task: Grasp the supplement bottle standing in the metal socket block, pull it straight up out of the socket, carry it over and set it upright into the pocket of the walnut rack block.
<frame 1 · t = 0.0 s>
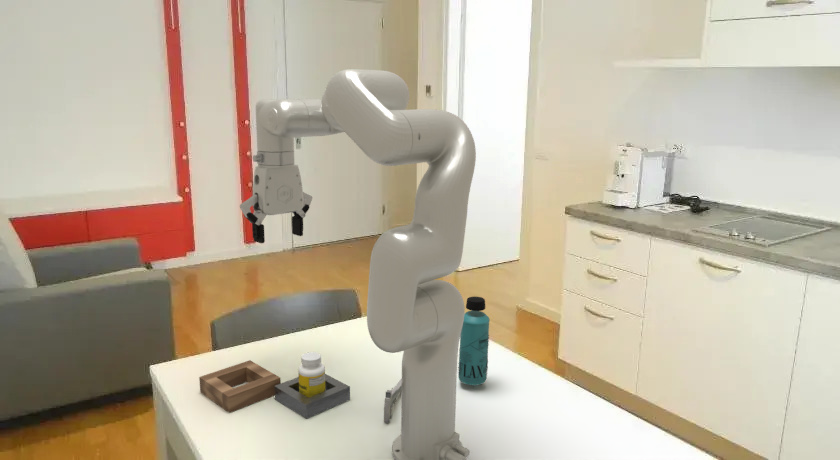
hand: (278, 238, 135), 31 cm above the table, fingers open, 9 cm apart
supplement bottle: (312, 400, 129), resting in socket block
rack block: (240, 392, 132), on the table
caliper: (397, 400, 130), on the table
socket block: (312, 399, 129), on the table
beverage bottle: (472, 385, 137), on the table
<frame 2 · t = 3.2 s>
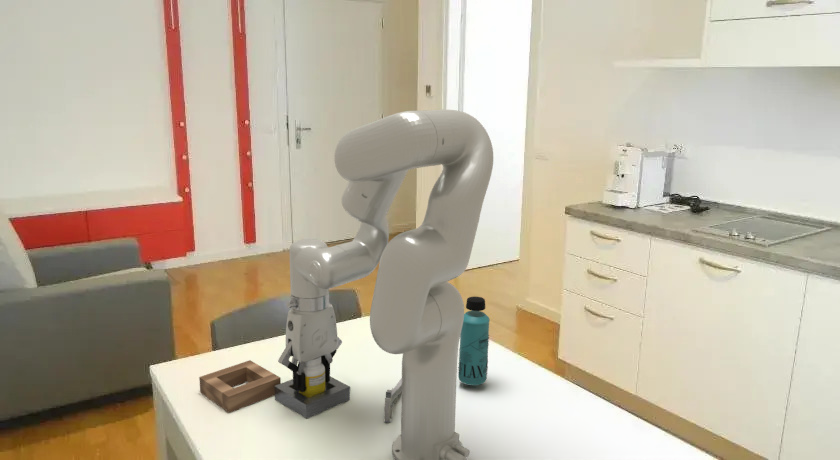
hand: (312, 383, 128), 4 cm above the table, fingers closed on supplement bottle, 5 cm apart
supplement bottle: (312, 400, 129), resting in socket block, touching gripper
everything else where it was.
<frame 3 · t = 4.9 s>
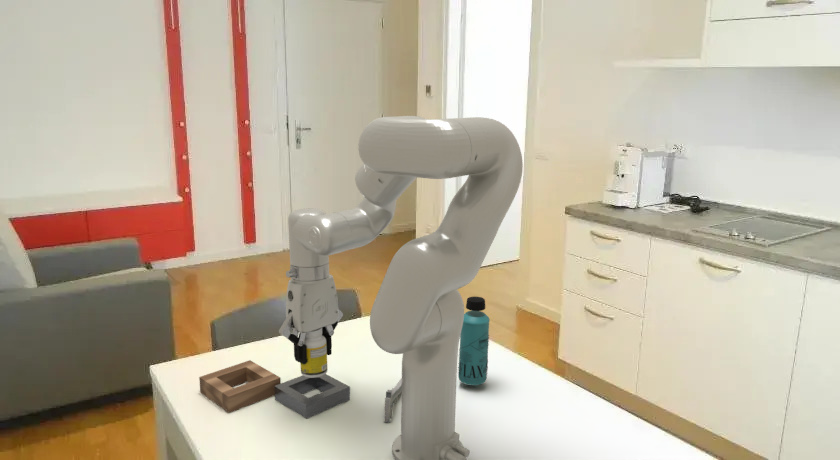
hand: (313, 356, 127), 10 cm above the table, fingers closed on supplement bottle, 5 cm apart
supplement bottle: (314, 373, 127), point 6 cm above the table, touching gripper
everything else where it was.
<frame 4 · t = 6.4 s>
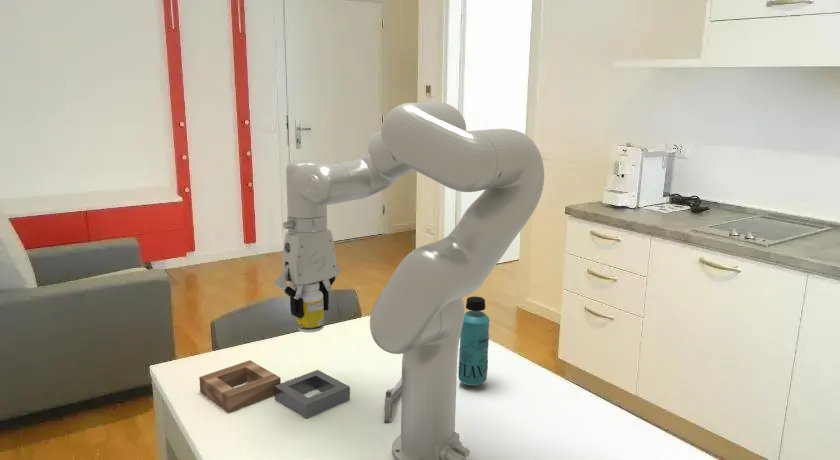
hand: (310, 311, 125), 19 cm above the table, fingers closed on supplement bottle, 5 cm apart
supplement bottle: (310, 329, 126), point 16 cm above the table, touching gripper
everything else where it was.
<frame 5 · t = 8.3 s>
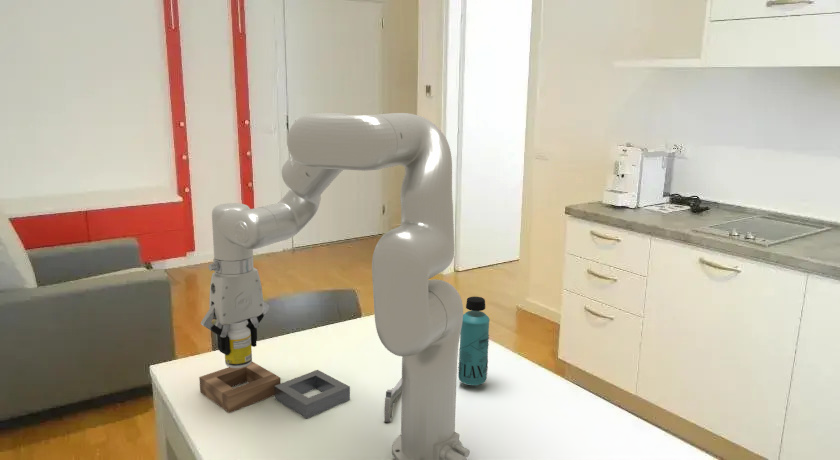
hand: (238, 348, 129), 10 cm above the table, fingers closed on supplement bottle, 5 cm apart
supplement bottle: (238, 364, 130), point 6 cm above the table, touching gripper
everything else where it was.
when the fingers open (5 cm above the table, at t = 9.8 s): supplement bottle drops 1 cm, resting in rack block.
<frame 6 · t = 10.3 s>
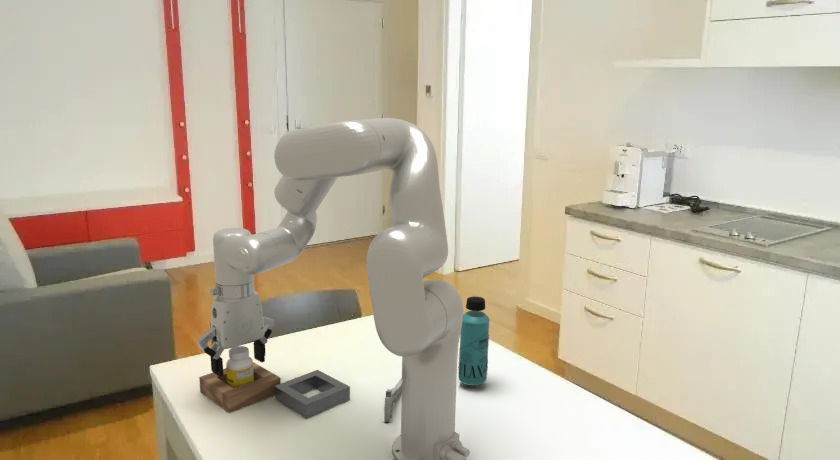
hand: (239, 367, 130), 6 cm above the table, fingers open, 9 cm apart
supplement bottle: (241, 393, 132), resting in rack block
everything else where it was.
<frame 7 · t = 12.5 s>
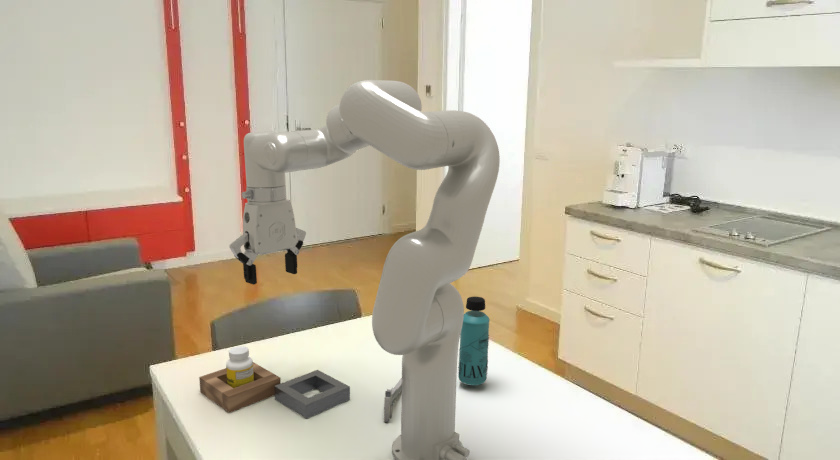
hand: (271, 277, 127), 25 cm above the table, fingers open, 9 cm apart
nothing on the table moved.
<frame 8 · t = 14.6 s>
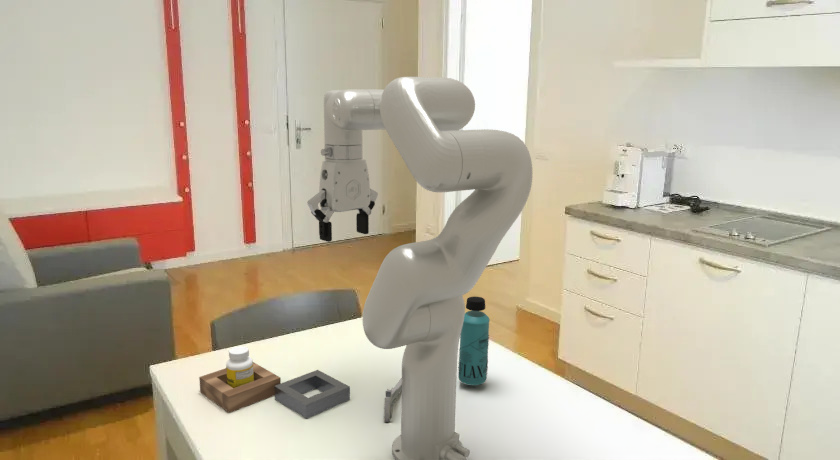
hand: (344, 236, 128), 33 cm above the table, fingers open, 9 cm apart
nothing on the table moved.
at the end: supplement bottle 0.2 cm off-centre on the rack block, point 0.0 cm above the rack block's base; supplement bottle tilted 0°; the gripper is holding nothing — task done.
